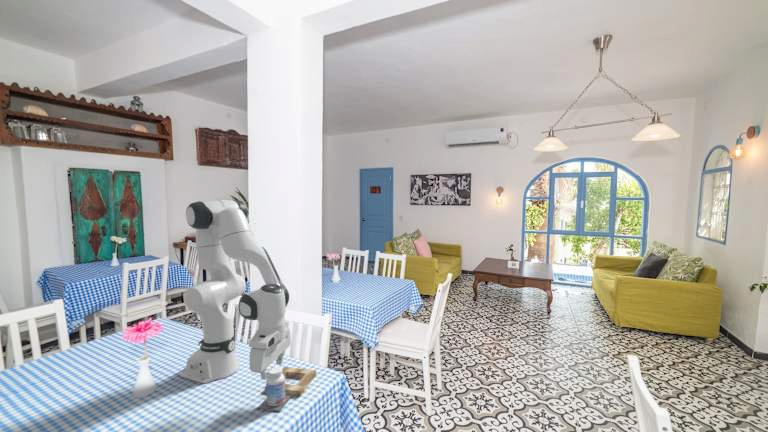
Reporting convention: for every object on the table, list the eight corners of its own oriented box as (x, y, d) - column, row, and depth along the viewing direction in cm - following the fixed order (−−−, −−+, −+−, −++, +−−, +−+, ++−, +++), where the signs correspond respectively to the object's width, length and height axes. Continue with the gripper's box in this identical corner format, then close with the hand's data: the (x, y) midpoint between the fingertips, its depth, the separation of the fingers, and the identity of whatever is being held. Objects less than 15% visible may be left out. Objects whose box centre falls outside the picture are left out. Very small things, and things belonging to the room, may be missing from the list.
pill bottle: (279, 408, 105) (278, 375, 104) (263, 406, 106) (262, 374, 106) (288, 397, 111) (287, 366, 110) (273, 395, 112) (272, 364, 111)
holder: (265, 392, 115) (264, 387, 115) (284, 371, 128) (284, 366, 128) (300, 396, 112) (300, 391, 112) (316, 374, 126) (316, 370, 126)
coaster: (257, 409, 105) (257, 407, 105) (270, 394, 113) (270, 393, 113) (279, 412, 104) (279, 410, 104) (291, 397, 112) (291, 395, 112)
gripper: (279, 319, 118) (279, 354, 119) (245, 344, 98) (246, 386, 99) (295, 321, 117) (295, 356, 118) (263, 346, 97) (263, 389, 98)
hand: (272, 370), depth 108 cm, fingers open, 8 cm apart
